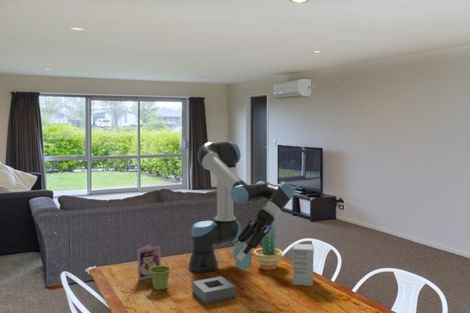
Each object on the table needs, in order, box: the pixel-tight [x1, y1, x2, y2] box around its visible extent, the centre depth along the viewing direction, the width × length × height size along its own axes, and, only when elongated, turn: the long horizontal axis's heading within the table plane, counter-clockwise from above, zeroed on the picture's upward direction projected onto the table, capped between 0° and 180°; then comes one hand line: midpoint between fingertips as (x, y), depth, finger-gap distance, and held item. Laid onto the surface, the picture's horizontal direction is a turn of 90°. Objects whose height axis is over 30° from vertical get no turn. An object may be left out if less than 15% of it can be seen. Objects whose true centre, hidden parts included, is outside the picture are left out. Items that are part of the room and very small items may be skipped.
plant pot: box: [150, 265, 171, 291], centre depth 191 cm, size 9×9×9 cm
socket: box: [192, 276, 236, 305], centre depth 182 cm, size 14×14×5 cm
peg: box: [234, 241, 253, 271], centre depth 178 cm, size 5×5×10 cm
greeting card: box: [137, 243, 162, 281], centre depth 205 cm, size 11×7×15 cm, turn 123°
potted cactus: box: [252, 222, 284, 271], centre depth 217 cm, size 15×15×25 cm
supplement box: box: [292, 243, 314, 287], centre depth 196 cm, size 10×9×17 cm
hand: (235, 257), depth 176 cm, fingers closed on peg, 5 cm apart
